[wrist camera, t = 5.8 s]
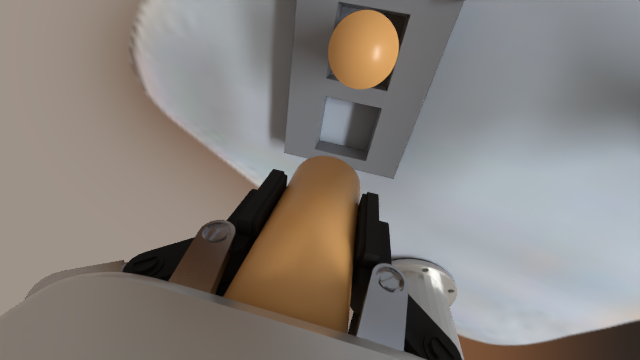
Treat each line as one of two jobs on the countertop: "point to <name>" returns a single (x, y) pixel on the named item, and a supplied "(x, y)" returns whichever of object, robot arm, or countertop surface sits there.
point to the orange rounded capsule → (363, 49)
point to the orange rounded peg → (306, 248)
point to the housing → (392, 100)
